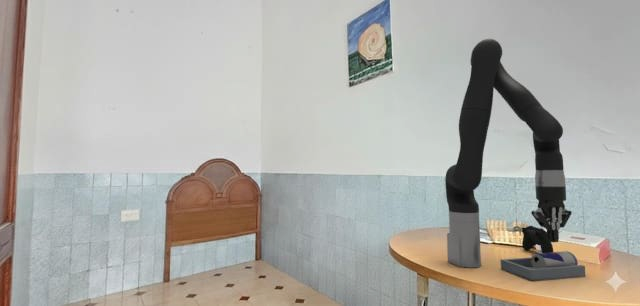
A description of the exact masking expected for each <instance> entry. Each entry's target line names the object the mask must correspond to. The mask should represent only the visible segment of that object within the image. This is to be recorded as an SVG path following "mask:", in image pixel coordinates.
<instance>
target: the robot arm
mask: <svg viewBox="0 0 640 306" xmlns="http://www.w3.org/2000/svg"><path fill="white" fill-rule="evenodd" d="M470 54H471V56H470V66H471V67H470V77H469V81H468V84H467V88H466V91H465V93H464V97H463V101H462V104H461V110H460V115H459V119H458V135H459V144H460V145H459V154H458V157H457V160H456V164H454V165H451V166H450V167H449V168H448V169H447V170H446V174H445V198H446V203H447V205H448V227H449V229H448V230H449V233H447V234H446V243H447V244H446V246H447V247H446V251H447V263H449V264H452V265H454V266H456V267H458V268H460V267H461V268H479V267H481V266H482V255H481V254H482V252H481V235H480V234H481V229H480V227H481V226H480V208H479V203H478V201H477V200H476V197H475V191H474V190H476V189H477V188H479V186H480V184H481V181H482V175H483V162H484V161H483V160H484V150H485V146H486V141H487V136H488V130H489V127H490V121H491V116H492V109H493V102H494V89H495V91H497V93H498V94H499V95H500V96H501V98H502V99H503V100H504V101H505V102H506V104H507V105H508V106H509V107H510V108H511V110H512V111H513V112H514V114H515V115H516V116H517V117H518V118H519V120H521V121H522V122H524V123H526V125H527V126H528V128H529V129H530V130H531V131H532V142H533V149H534V154H535V155H534V156H535V157H534V165H535V175H534V183H535V184H534V185H535V199H536V200H537V201H538V203H537V208H536V210H532V211H531V213H530V214H531V215H532V216H533V218H534V219H535V221H536V222H537V223H538V225H539V226H540V227H541V228H543V229H545V231H546V232H547V239H548V241H549V242H551V243H558V242H559V240H560V238H559V237H560V236H559V235H560V234H559V233H560V232H559V231H560V230H561V228H565V226H566V224H567V223H568V222H569V221H568V220H569V219H570V218H571V215H572V214H573V213H572V212H573V211H572V210H568V209H566V205H565V203H564V202H566V200H567V190H566V185H567V184H566V176H565V171H564V170H565V168H564V158H563V154H562V153H561V151H560V148H561V147H560V139H561V138H562V137H563V134H564V128H563V126H562V125H561V122H559V121H558V119H557V118H556V117H555V116H553V115H552V114H551V113H550V112H549V111H548V110H547V109H545V108H544V107H543V105H542V104H541V102H539V100H538V99H537V98H536V96H535V95H534V94H533V93H532V92H531V91H530V90H529V89H528V88H527V87H525V86H524V85H523V84H522V83H520V82H519V81H517V80H516V79H515V78H513V76H511V75H510V74H509V72H507V70H506V69H505V67H504V65H503V64H502V62H501V60H502V59H501V58H502V57H503V48H502V46H501V44H500V42H499V41H498V40H496V39H493V38H485V39H482V40H481V41H479V42H478V43H477V44H475V46H474V47H473V49H472V51H471V53H470Z"/></svg>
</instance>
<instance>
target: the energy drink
mask: <svg viewBox="0 0 640 306" xmlns="http://www.w3.org/2000/svg"><path fill="white" fill-rule="evenodd" d="M531 257H532V258H531V264H532V266H533V267H534V269H537V268H549V267H562V266H575V265H579V262H578V258H577V257H576V255H575V254H574V253H572V252H570V251H568V250H563V251H553V252H550V253H542V252H540V253H535V254H533V255H532V256H531Z"/></svg>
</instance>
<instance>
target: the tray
mask: <svg viewBox="0 0 640 306" xmlns="http://www.w3.org/2000/svg"><path fill="white" fill-rule="evenodd" d="M531 258H532V256H531V257H529V256H528V257H518V258H515V257H514V258H504V259H502V258H501V259H500V269H501V270H502V271H505V272H507V273H510V274H512V275H514V276H517V277H520V278H522V279H525V280H528V281H530V282H540V281H549V280H561V279H573V278H574V277H575V278H584V277H585V278H586V277H587V276H586V266H585V265H583V264H578V265H575V266H562V267H549V268H537V269H534V267H533V266H532V264H531Z"/></svg>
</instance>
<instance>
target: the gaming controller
mask: <svg viewBox="0 0 640 306" xmlns="http://www.w3.org/2000/svg"><path fill="white" fill-rule="evenodd" d="M521 233H522V234H523V238H522V241H521V242H522V243H521V244H522V245H521V246H522V249H523V250H525V252H526V251H529V250H531V249H533V248H534V247H535V246H536V245H537V246H540V251H541V253H550V252H554V247H553V242H549V241H548V239H547V230H546V229H545V228H543V227H541V228H539V227H536V226H534V225H527V226H526V227H523V226H522V227H521Z"/></svg>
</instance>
